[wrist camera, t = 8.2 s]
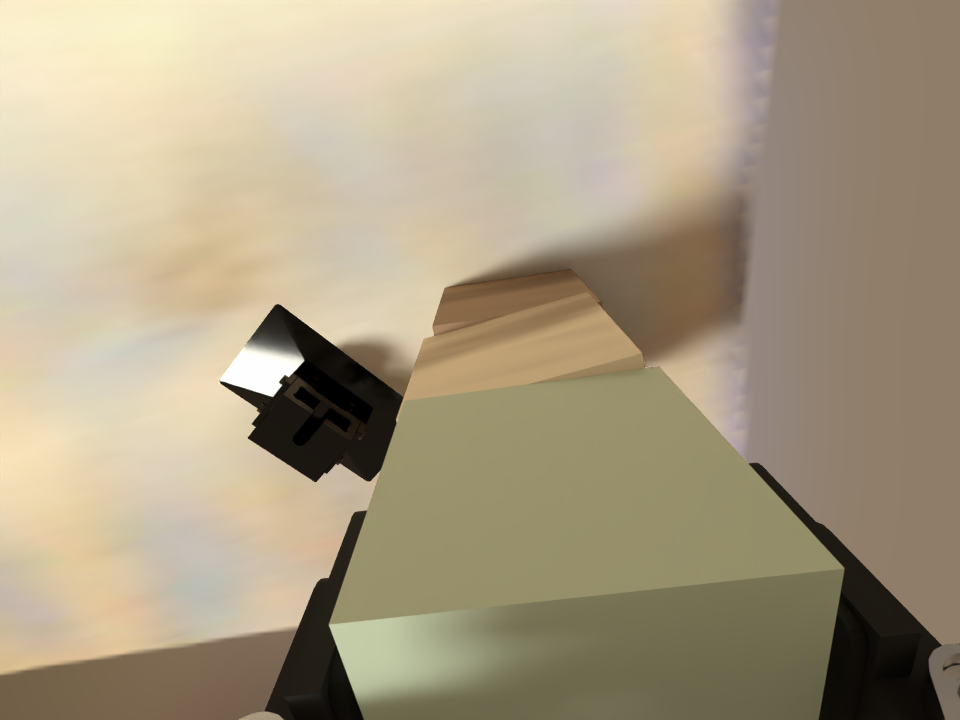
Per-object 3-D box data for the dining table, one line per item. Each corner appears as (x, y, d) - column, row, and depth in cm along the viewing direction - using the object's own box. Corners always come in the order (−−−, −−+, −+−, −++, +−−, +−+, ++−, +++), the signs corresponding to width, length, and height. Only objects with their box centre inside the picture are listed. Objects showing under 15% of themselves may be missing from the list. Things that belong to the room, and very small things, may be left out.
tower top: (423, 339, 17) (395, 419, 11) (587, 291, 16) (642, 352, 11) (473, 473, 19) (469, 597, 14) (619, 436, 18) (679, 550, 13)
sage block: (404, 401, 11) (329, 624, 6) (658, 366, 11) (844, 568, 5) (447, 588, 13) (424, 883, 8) (661, 564, 13) (795, 855, 8)
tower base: (444, 287, 22) (432, 326, 17) (571, 269, 22) (601, 301, 16) (465, 400, 25) (460, 467, 19) (580, 384, 24) (609, 448, 19)
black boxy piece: (462, 418, 26) (458, 467, 21) (381, 502, 28) (363, 562, 23) (264, 268, 23) (214, 289, 18) (190, 373, 25) (129, 415, 20)
